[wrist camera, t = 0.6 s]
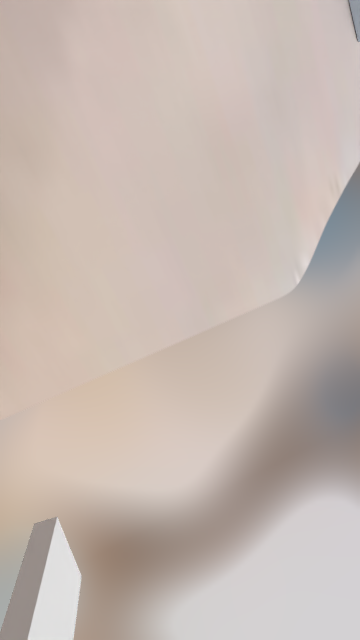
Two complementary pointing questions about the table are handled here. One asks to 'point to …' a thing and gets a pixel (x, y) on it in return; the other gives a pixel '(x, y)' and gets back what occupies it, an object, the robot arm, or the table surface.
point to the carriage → (356, 15)
